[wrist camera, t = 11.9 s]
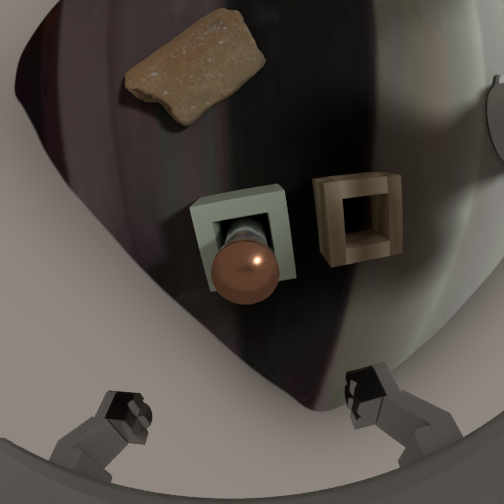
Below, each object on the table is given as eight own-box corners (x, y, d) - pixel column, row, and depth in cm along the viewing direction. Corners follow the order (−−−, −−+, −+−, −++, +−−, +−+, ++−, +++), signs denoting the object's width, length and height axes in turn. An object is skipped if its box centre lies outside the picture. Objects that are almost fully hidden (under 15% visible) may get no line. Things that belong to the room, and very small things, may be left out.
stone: (125, 77, 26) (114, 72, 23) (229, 8, 23) (227, -4, 20) (169, 140, 29) (161, 139, 26) (281, 68, 26) (284, 60, 23)
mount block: (380, 171, 30) (400, 175, 25) (384, 239, 33) (402, 253, 28) (311, 178, 30) (323, 183, 25) (320, 251, 33) (331, 267, 29)
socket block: (277, 183, 30) (284, 190, 25) (288, 256, 33) (296, 277, 28) (200, 197, 31) (189, 207, 25) (216, 268, 34) (210, 291, 28)
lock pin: (264, 203, 31) (274, 236, 19) (270, 244, 33) (283, 298, 21) (221, 211, 31) (204, 248, 19) (229, 251, 33) (219, 308, 21)
